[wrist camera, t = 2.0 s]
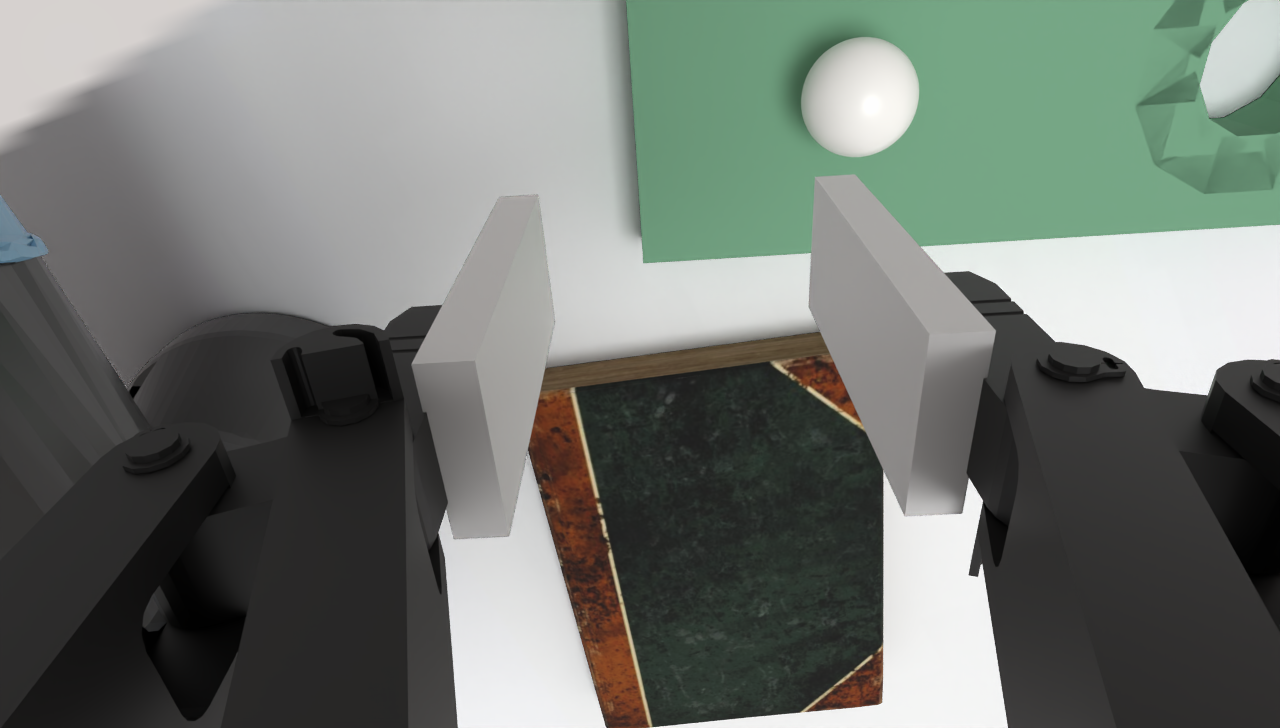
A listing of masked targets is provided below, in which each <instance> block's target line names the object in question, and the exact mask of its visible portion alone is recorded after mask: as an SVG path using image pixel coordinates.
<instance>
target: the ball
mask: <svg viewBox="0 0 1280 728" xmlns="http://www.w3.org/2000/svg"><path fill="white" fill-rule="evenodd" d="M918 101H919V82H918V77H917V74H916V71H915V69H914V67H913V65H912V63H911V61H910V60H909V58H908V57H907V56H906V54H905V53H904V52H903V51H901V50H900V49H899V48H898V47H896V46H895V45H893V44H892V43H890V42H888V41H885V40H882V39H879V38H872V37H858V38H852V39H849V40H845V41H843V42H841V43H838V44H836V45H835V46H833V47H831V48H830V49H828V50H827V51H826V52H825V53H823V54H822V55H821V56H820V57H819V58H818V60H817V61H816V62H815V63H814V65H813V66H812V68H811V69H810V71H809V73H808V75H807V77H806V79H805V82H804V85H803V89H802V96H801V110H802V116H803V119H804V123H805V125H806V127H807V129H808V131H809V133H810V134H811V136H812V137H813V138H814V139H815V140H816V142H817V143H819V144H820V145H821V146H822V147H824V148H825V149H827V150H828V151H830V152H832V153H835V154H838V155H841V156H846V157H864V156H869V155H873V154H875V153H878V152H880V151H882V150H884V149H886V148H888V147H889V146H891V145H892V144H894V143H895V142H896V141H897V140H898V139H899V138H900V137H901V136H902V135H903V134H904V133H905V131H906V130H907V129H908V127H909V125H910V124H911V122H912V120H913V118H914V116H915V113H916V110H917V106H918Z"/></svg>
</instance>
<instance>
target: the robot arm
mask: <svg viewBox="0 0 1280 728" xmlns="http://www.w3.org/2000/svg"><path fill="white" fill-rule="evenodd" d="M47 253H49V252H48V249H47V247H46V246H45V244H44V242H43V241H42V240H41V239H40V237H38V236H36V235H34V234H31V233H28V232H27V231H26V230H25V228H24V227H23V226H22V224H21V223H20V221H19V220H18V219H17V217H16V216H15V214H14V213H13V212H12V210H11V209H10V208H9V206H8V205H7V203H6V202H5V201H4V199H3V198H2V196H1V195H0V728H458V725H457V712H456V699H455V686H454V672H453V659H452V646H451V633H450V620H449V607H448V594H447V580H446V567H445V557H444V553H443V549H442V545H441V541H440V537H439V534H438V531H439V528H440V525H441V522H442V519H443V516H444V513H445V510H446V509H447V513H448V518H449V522H450V526H451V530H452V534H453V538H454V539H468V538H488V537H507V536H509V535H510V531H511V526H512V521H513V517H514V512H515V507H516V503H517V498H518V493H519V488H520V484H521V479H522V474H523V470H524V465H525V460H526V456H527V451H528V446H529V442H530V437H531V432H532V428H533V423H534V418H535V413H536V409H537V404H538V399H539V395H540V390H541V385H542V381H543V376H544V371H545V367H546V362H547V357H548V353H549V348H550V343H551V338H552V334H553V329H554V324H555V317H554V309H553V302H552V294H551V286H550V279H549V271H548V264H547V256H546V249H545V241H544V233H543V226H542V218H541V211H540V203H539V196H538V195H522V196H507V197H499V199H498V200H497V202H496V204H495V206H494V208H493V210H492V212H491V214H490V216H489V218H488V219H487V221H486V223H485V225H484V227H483V229H482V231H481V233H480V235H479V237H478V238H477V240H476V242H475V244H474V246H473V248H472V250H471V252H470V254H469V256H468V257H467V259H466V261H465V263H464V265H463V267H462V269H461V271H460V273H459V275H458V276H457V278H456V280H455V282H454V284H453V286H452V288H451V290H450V292H449V294H448V295H447V297H446V299H445V301H444V303H443V305H436V306H420V307H411V308H409V309H408V310H406V311H405V312H403V313H402V314H401V315H399V316H398V317H396V318H395V319H393V320H392V321H390V322H389V324H388V326H387V327H386V329H385V330H381V329H379V328H377V327H375V326H370V325H360V324H351V325H340V326H332V327H327V326H325V325H322V324H319V323H316V322H313V321H309V320H306V319H301V318H297V317H292V316H286V315H279V314H267V313H247V314H236V315H230V316H224V317H220V318H216V319H213V320H210V321H207V322H204V323H201V324H199V325H197V326H194V327H193V328H191V329H189V330H187V331H185V332H184V333H182V334H181V335H179V336H178V337H176V338H175V339H174V340H173V341H171V342H170V343H169V344H168V345H167V346H166V347H164V348H163V349H162V350H161V351H160V352H159V353H158V354H157V355H155V356H154V357H153V358H152V359H151V360H150V361H149V362H148V363H147V364H146V365H145V366H144V367H143V368H142V369H141V370H140V371H139V373H138V374H137V375H136V376H135V378H134V379H133V381H132V382H131V384H130V385H129V387H128V389H126V387H125V386H124V384H123V383H122V381H121V380H120V378H119V377H118V375H117V373H116V372H115V370H114V369H113V367H112V366H111V364H110V363H109V361H108V360H107V358H106V357H105V355H104V353H103V352H102V350H101V349H100V347H99V346H98V344H97V343H96V341H95V340H94V338H93V337H92V335H91V334H90V332H89V330H88V329H87V327H86V326H85V324H84V323H83V321H82V320H81V318H80V317H79V315H78V314H77V312H76V310H75V309H74V307H73V306H72V304H71V303H70V301H69V300H68V298H67V297H66V295H65V294H64V292H63V291H62V289H61V287H60V286H59V284H58V283H57V281H56V280H55V278H54V277H53V275H52V273H51V272H50V270H49V269H48V267H47V265H46V264H45V262H44V261H43V259H42V257H41V256H42V255H46V254H47ZM809 309H810V311H811V313H812V315H813V317H814V320H815V322H816V324H817V326H818V328H819V330H820V333H821V335H822V337H823V339H824V341H825V344H826V346H827V348H828V350H829V352H830V354H831V357H832V359H833V361H834V363H835V365H836V368H837V370H838V372H839V374H840V376H841V378H842V381H843V383H844V385H845V387H846V389H847V392H848V394H849V396H850V398H851V400H852V402H853V405H854V407H855V409H856V411H857V413H858V416H859V418H860V420H861V422H862V424H863V426H864V429H865V431H866V433H867V435H868V437H869V440H870V442H871V444H872V446H873V448H874V450H875V453H876V455H877V457H878V459H879V461H880V464H881V466H882V468H883V470H884V472H885V474H886V477H887V479H888V481H889V483H890V485H891V488H892V490H893V492H894V494H895V496H896V498H897V501H898V503H899V505H900V507H901V509H902V512H903V514H904V516H922V515H942V514H962V512H963V506H964V501H965V496H966V490H967V485H968V479H969V478H970V480H971V481H972V483H973V485H974V486H975V488H976V490H977V491H978V493H979V495H980V496H981V498H982V500H983V505H982V510H981V515H980V520H979V525H978V530H977V534H976V539H975V544H974V549H973V554H972V559H971V565H970V570H969V575H970V576H977V577H978V574H979V569H980V565H981V564H983V570H984V576H985V582H986V589H987V595H988V602H989V608H990V614H991V621H992V627H993V634H994V640H995V646H996V653H997V659H998V666H999V672H1000V678H1001V685H1002V691H1003V698H1004V704H1005V710H1006V717H1007V723H1008V728H1280V360H1274V359H1271V360H1268V361H1266V360H1243V361H1236V362H1230V363H1227V364H1225V365H1224V366H1222V367H1220V368H1219V369H1217V371H1216V374H1215V376H1214V379H1213V382H1212V385H1211V388H1210V391H1209V393H1208V396H1207V395H1198V394H1189V393H1179V392H1170V391H1161V390H1153V389H1146V388H1144V387H1143V385H1142V384H1141V382H1140V380H1139V378H1138V376H1137V375H1136V373H1135V372H1134V371H1133V370H1132V369H1131V368H1130V367H1129V366H1128V364H1127V363H1126V362H1124V361H1123V360H1121V359H1119V358H1117V357H1115V356H1113V355H1111V354H1109V353H1107V352H1104V351H1101V350H1098V349H1095V348H1091V347H1088V346H1085V345H1078V344H1071V343H1064V342H1055V341H1054V340H1053V339H1052V338H1051V337H1050V336H1049V335H1048V334H1047V333H1046V332H1045V331H1044V330H1043V329H1041V328H1040V327H1039V326H1038V325H1037V324H1036V323H1035V322H1034V321H1033V320H1032V319H1031V318H1030V317H1029V316H1028V315H1027V314H1024V313H1023V310H1022V309H1021V308H1020V307H1019V306H1018V305H1017V304H1016V303H1015V302H1011V298H1010V297H1009V296H1008V295H1007V294H1006V293H1005V292H1004V291H1003V290H1002V289H1001V288H1000V287H999V286H998V285H996V284H995V283H993V282H991V281H989V280H987V279H985V278H982V277H980V276H978V275H976V274H974V273H972V272H969V271H966V272H950V273H944V272H943V271H942V270H941V269H940V268H939V267H938V266H937V265H936V264H935V262H934V261H933V260H932V259H931V258H930V257H929V256H928V255H927V254H926V253H925V251H924V250H923V249H922V248H921V247H920V246H919V245H918V244H917V243H916V241H915V240H914V239H913V238H912V237H911V236H910V235H909V234H908V233H907V231H906V230H905V229H904V228H903V227H902V226H901V225H900V224H899V223H898V221H897V220H896V219H895V218H894V217H893V216H892V215H891V214H890V213H889V212H888V210H887V209H886V208H885V207H884V206H883V205H882V204H881V203H880V202H879V200H878V199H877V198H876V197H875V196H874V195H873V194H872V193H871V192H870V190H869V189H868V188H867V187H866V186H865V185H864V184H863V183H862V182H861V181H860V179H859V178H858V177H857V176H856V175H855V174H852V175H836V176H821V177H815V186H814V206H813V226H812V247H811V267H810V287H809Z"/></svg>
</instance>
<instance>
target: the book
mask: <svg viewBox="0 0 1280 728" xmlns="http://www.w3.org/2000/svg"><path fill="white" fill-rule="evenodd" d="M528 452H529V455H530V459H531V462H532V466H533V469H534V473H535V477H536V480H537V484H538V487H539V491H540V494H541V498H542V502H543V505H544V509H545V512H546V516H547V519H548V523H549V527H550V530H551V534H552V537H553V541H554V544H555V548H556V552H557V555H558V559H559V562H560V566H561V569H562V573H563V577H564V580H565V584H566V587H567V591H568V594H569V598H570V601H571V605H572V609H573V612H574V616H575V619H576V623H577V626H578V630H579V633H580V637H581V640H582V644H583V647H584V651H585V655H586V658H587V662H588V665H589V669H590V672H591V676H592V679H593V683H594V686H595V690H596V693H597V697H598V701H599V704H600V708H601V711H602V714H603V718H604V721H605V725H606V727H607V728H649V727H659V726H669V725H678V724H688V723H698V722H708V721H717V720H727V719H737V718H746V717H757V716H768V715H778V714H789V713H800V712H811V711H822V710H832V709H843V708H854V707H862V706H871V705H879V704H881V703H882V692H883V468H882V466H881V464H880V461H879V459H878V457H877V455H876V453H875V450H874V448H873V446H872V444H871V442H870V440H869V437H868V435H867V433H866V431H865V429H864V426H863V424H862V422H861V420H860V418H859V416H858V413H857V411H856V409H855V407H854V405H853V402H852V400H851V398H850V396H849V394H848V392H847V389H846V387H845V385H844V383H843V381H842V378H841V376H840V374H839V372H838V370H837V368H836V365H835V363H834V361H833V359H832V357H831V354H830V352H829V350H828V348H827V346H826V344H825V341H824V339H823V337H822V335H821V333H820V332H816V333H808V334H801V335H793V336H786V337H778V338H771V339H763V340H756V341H748V342H741V343H733V344H726V345H718V346H710V347H703V348H695V349H688V350H680V351H673V352H665V353H658V354H650V355H643V356H635V357H628V358H620V359H613V360H605V361H598V362H590V363H583V364H575V365H568V366H561V367H553V368H546V369H545V371H544V376H543V381H542V385H541V390H540V395H539V399H538V404H537V409H536V413H535V418H534V423H533V428H532V432H531V437H530V442H529V446H528Z"/></svg>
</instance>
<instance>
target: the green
mask: <svg viewBox="0 0 1280 728" xmlns="http://www.w3.org/2000/svg"><path fill="white" fill-rule="evenodd" d="M1246 1H1248V0H626V7H627V22H628V37H629V52H630V67H631V82H632V97H633V113H634V128H635V143H636V158H637V173H638V188H639V203H640V219H641V234H642V249H643V263H655V262H672V261H688V260H704V259H721V258H737V257H754V256H770V255H787V254H803V253H811V247H812V226H813V206H814V186H815V177H821V176H836V175H852V174H855V175H856V176H857V177H858V178H859V179H860V181H861V182H862V183H863V184H864V185H865V186H866V187H867V188H868V189H869V190H870V192H871V193H872V194H873V195H874V196H875V197H876V198H877V199H878V200H879V202H880V203H881V204H882V205H883V206H884V207H885V208H886V209H887V210H888V212H889V213H890V214H891V215H892V216H893V217H894V218H895V219H896V220H897V221H898V223H899V224H900V225H901V226H902V227H903V228H904V229H905V230H906V231H907V233H908V234H909V235H910V236H911V237H912V238H913V239H914V240H915V241H916V243H917V244H918V245H919V246H935V245H951V244H968V243H984V242H1000V241H1017V240H1033V239H1050V238H1066V237H1083V236H1099V235H1116V234H1132V233H1148V232H1165V231H1181V230H1198V229H1214V228H1231V227H1247V226H1264V225H1280V76H1279V77H1278V78H1277V79H1276V80H1275V82H1274V83H1273V84H1272V85H1271V86H1270V87H1269V89H1268V90H1267V91H1266V92H1265V93H1264V94H1263V96H1262V97H1261V98H1259V99H1257V100H1255V101H1253V102H1251V103H1250V104H1248V105H1246V106H1244V107H1242V108H1241V109H1239V110H1237V111H1235V112H1233V113H1231V114H1230V115H1228V116H1226V117H1224V118H1209V116H1208V113H1207V109H1206V106H1205V102H1204V99H1203V96H1202V92H1201V89H1200V82H1201V78H1202V75H1203V71H1204V68H1205V64H1206V61H1207V57H1208V53H1209V50H1210V46H1211V43H1212V42H1213V40H1214V39H1215V38H1216V37H1217V35H1218V34H1219V33H1220V32H1221V30H1222V29H1223V28H1224V27H1225V25H1226V24H1227V23H1228V22H1229V20H1230V19H1231V18H1232V17H1233V15H1234V14H1235V13H1236V12H1237V10H1238V9H1239V8H1240V7H1241V5H1242V4H1243V3H1244V2H1246ZM858 37H872V38H879V39H882V40H885V41H888V42H890V43H892V44H893V45H895V46H896V47H898V48H899V49H900V50H901V51H903V52H904V53H905V54H906V56H907V57H908V58H909V60H910V61H911V63H912V65H913V67H914V69H915V71H916V74H917V77H918V82H919V101H918V106H917V110H916V113H915V116H914V118H913V120H912V122H911V124H910V125H909V127H908V129H907V130H906V131H905V133H904V134H903V135H902V136H901V137H900V138H899V139H898V140H897V141H896V142H895V143H894V144H892V145H891V146H889V147H888V148H886V149H884V150H882V151H880V152H878V153H875V154H873V155H869V156H864V157H846V156H841V155H838V154H835V153H832V152H830V151H828V150H827V149H825V148H824V147H822V146H821V145H820V144H819V143H817V142H816V140H815V139H814V138H813V137H812V136H811V134H810V133H809V131H808V129H807V127H806V125H805V123H804V119H803V116H802V110H801V96H802V89H803V85H804V82H805V79H806V77H807V75H808V73H809V71H810V69H811V68H812V66H813V65H814V63H815V62H816V61H817V60H818V58H819V57H820V56H821V55H822V54H823V53H825V52H826V51H827V50H828V49H830V48H831V47H833V46H835V45H836V44H838V43H841V42H843V41H845V40H849V39H852V38H858Z"/></svg>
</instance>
